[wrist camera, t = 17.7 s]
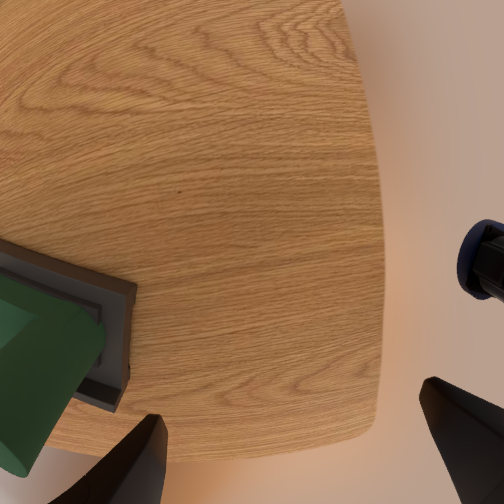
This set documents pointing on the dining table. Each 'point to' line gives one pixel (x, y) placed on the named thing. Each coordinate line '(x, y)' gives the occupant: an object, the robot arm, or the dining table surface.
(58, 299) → the green cylinder on block
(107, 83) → the dining table surface
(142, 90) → the dining table surface
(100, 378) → the shoe shelf
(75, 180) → the dining table surface
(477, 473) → the robot arm
